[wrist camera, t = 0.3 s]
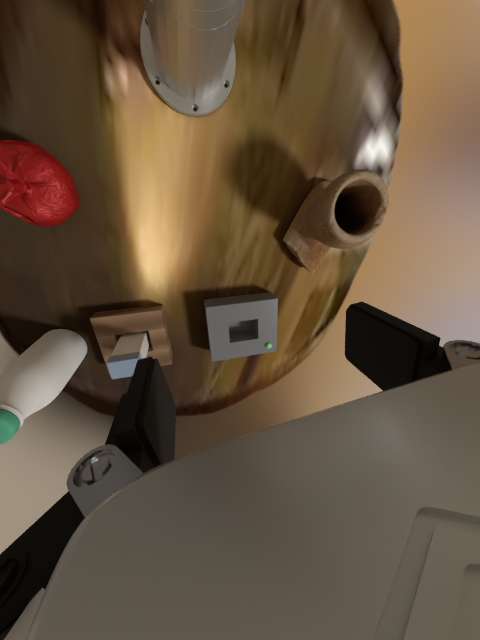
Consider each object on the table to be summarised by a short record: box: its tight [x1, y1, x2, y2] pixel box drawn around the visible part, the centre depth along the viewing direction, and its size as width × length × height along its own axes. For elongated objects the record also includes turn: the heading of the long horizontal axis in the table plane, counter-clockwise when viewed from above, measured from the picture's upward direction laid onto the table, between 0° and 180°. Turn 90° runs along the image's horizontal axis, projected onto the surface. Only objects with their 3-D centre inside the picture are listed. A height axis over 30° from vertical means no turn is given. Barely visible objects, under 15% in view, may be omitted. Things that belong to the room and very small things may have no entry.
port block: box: [204, 292, 278, 362], centre depth 48 cm, size 12×14×5 cm
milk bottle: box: [0, 329, 87, 444], centre depth 36 cm, size 8×8×20 cm
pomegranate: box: [0, 139, 79, 227], centre depth 31 cm, size 10×10×9 cm
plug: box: [107, 331, 150, 379], centre depth 42 cm, size 3×5×11 cm
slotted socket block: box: [90, 305, 173, 374], centre depth 46 cm, size 12×12×3 cm
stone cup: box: [283, 169, 388, 273], centre depth 39 cm, size 15×12×15 cm
